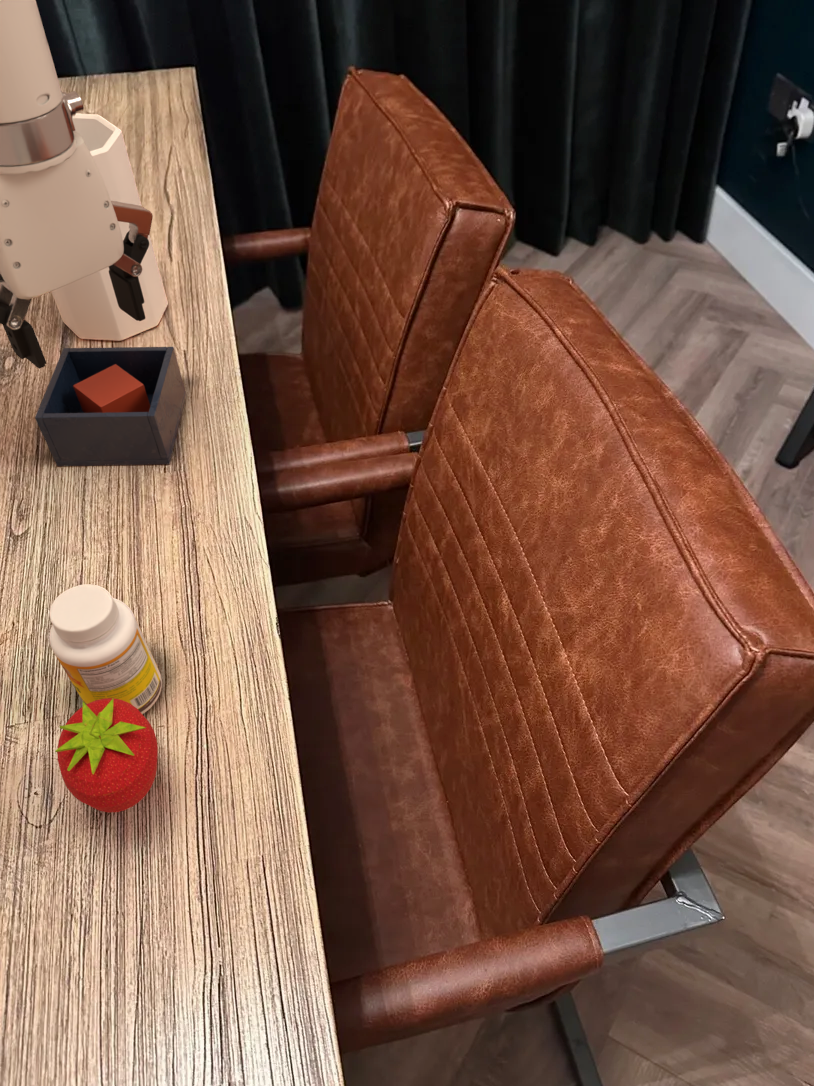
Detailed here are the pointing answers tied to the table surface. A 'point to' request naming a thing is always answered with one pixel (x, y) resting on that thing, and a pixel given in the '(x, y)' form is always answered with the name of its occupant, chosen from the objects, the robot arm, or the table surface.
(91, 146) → the cup
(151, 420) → the navy tray box
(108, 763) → the strawberry
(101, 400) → the red block
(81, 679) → the supplement bottle
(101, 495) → the table surface
